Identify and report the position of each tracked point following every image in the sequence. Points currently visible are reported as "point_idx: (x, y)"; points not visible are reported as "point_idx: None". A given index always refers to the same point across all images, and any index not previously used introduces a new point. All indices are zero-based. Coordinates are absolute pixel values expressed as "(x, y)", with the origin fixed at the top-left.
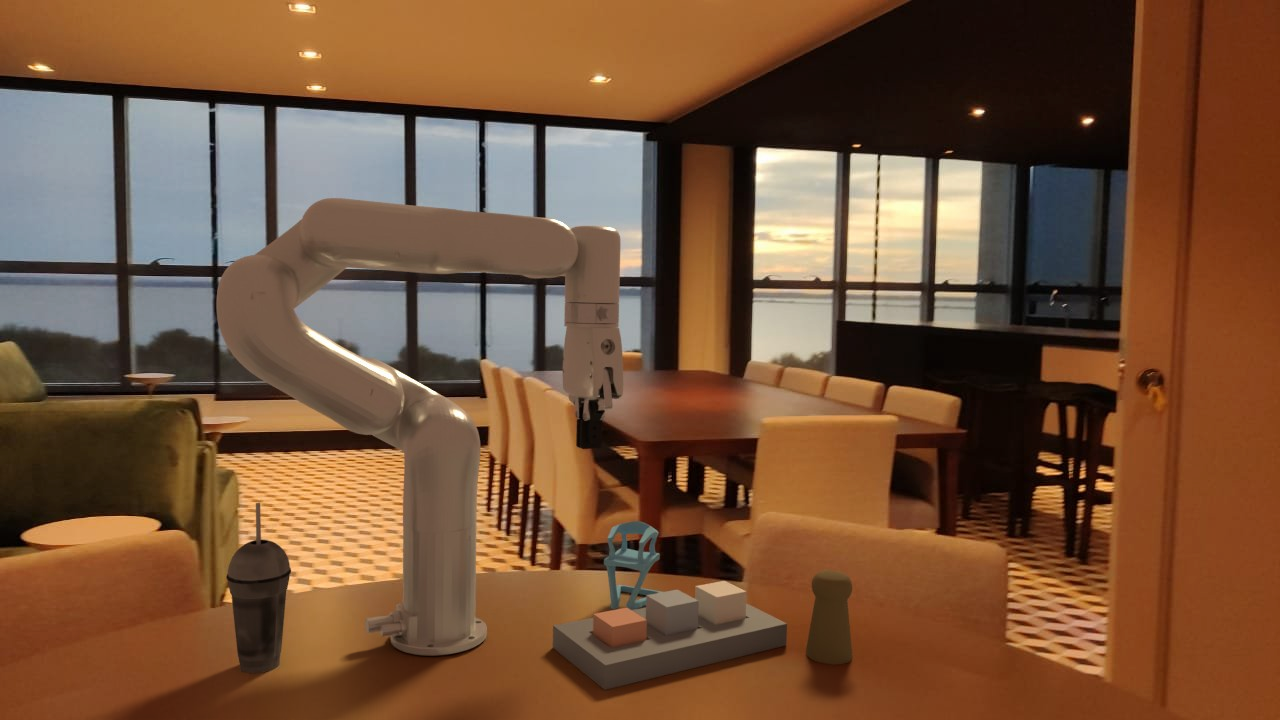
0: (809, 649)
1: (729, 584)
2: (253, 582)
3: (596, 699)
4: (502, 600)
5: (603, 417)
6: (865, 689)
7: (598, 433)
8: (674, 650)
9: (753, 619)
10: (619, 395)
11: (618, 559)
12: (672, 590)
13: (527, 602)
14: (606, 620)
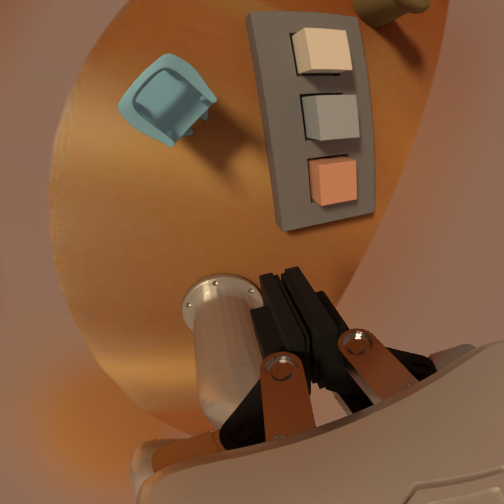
0: (373, 23)
1: (318, 30)
2: None
3: (371, 215)
4: (135, 248)
5: (370, 335)
6: (420, 39)
7: (333, 308)
8: (373, 144)
9: None
10: (494, 350)
11: (177, 125)
12: (316, 103)
13: (146, 224)
14: (341, 199)
